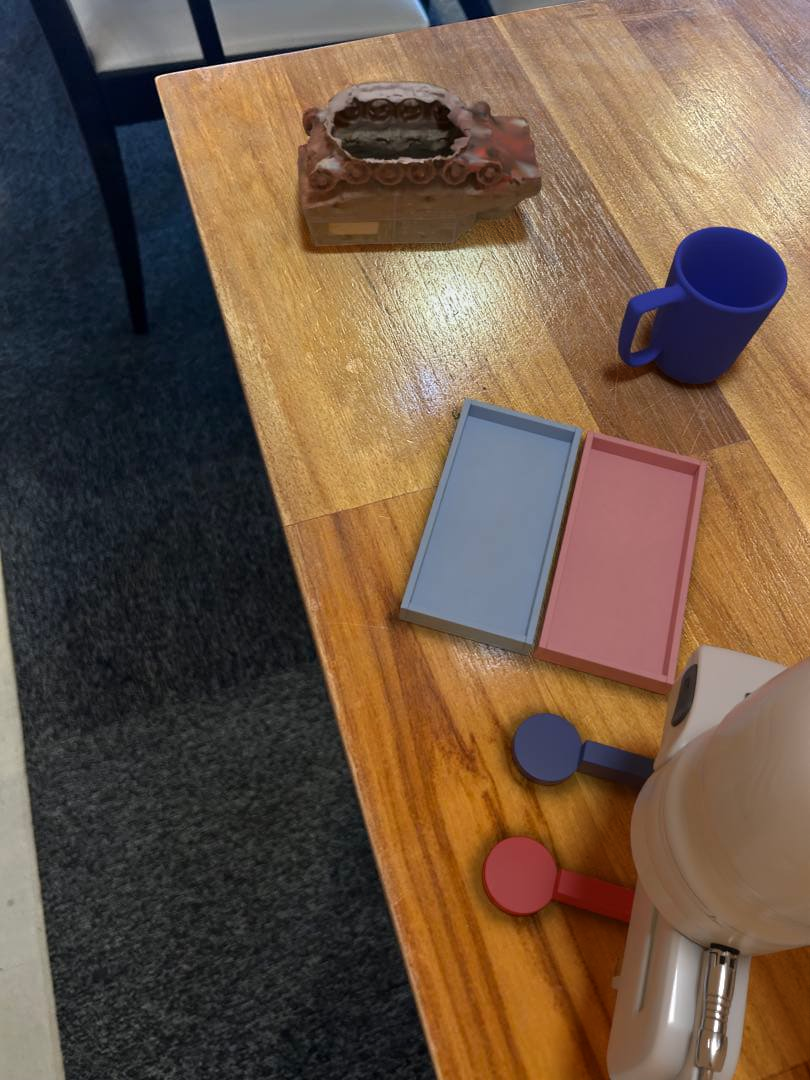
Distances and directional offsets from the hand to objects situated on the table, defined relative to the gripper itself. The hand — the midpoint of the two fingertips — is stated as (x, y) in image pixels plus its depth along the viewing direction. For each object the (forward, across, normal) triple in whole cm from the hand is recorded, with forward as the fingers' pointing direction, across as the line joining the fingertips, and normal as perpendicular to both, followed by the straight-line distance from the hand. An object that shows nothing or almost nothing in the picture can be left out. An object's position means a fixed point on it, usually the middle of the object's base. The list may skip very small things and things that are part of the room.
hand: (643, 888), depth 53 cm
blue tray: (+5, +22, +14) cm, 27 cm away
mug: (+5, +42, +4) cm, 42 cm away
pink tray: (+5, +22, +4) cm, 23 cm away
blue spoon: (+5, +8, +2) cm, 9 cm away
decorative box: (+5, +51, +28) cm, 59 cm away
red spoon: (+5, 0, +2) cm, 5 cm away
